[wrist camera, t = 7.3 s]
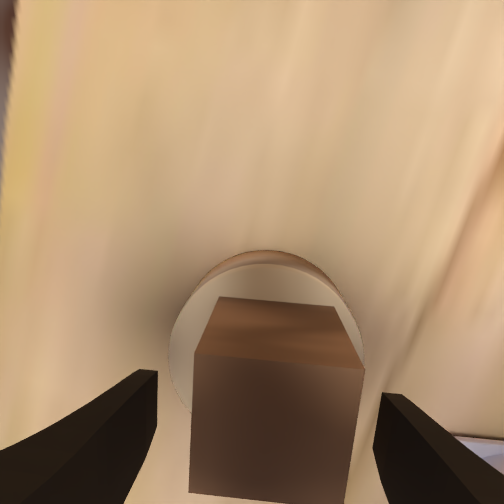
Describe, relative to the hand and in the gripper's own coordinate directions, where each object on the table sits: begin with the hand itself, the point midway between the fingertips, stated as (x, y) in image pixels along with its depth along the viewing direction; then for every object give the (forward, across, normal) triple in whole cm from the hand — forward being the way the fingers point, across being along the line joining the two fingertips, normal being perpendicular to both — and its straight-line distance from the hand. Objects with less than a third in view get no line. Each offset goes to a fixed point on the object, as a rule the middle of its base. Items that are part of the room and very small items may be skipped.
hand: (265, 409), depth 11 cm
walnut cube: (+3, 0, 0) cm, 3 cm away
